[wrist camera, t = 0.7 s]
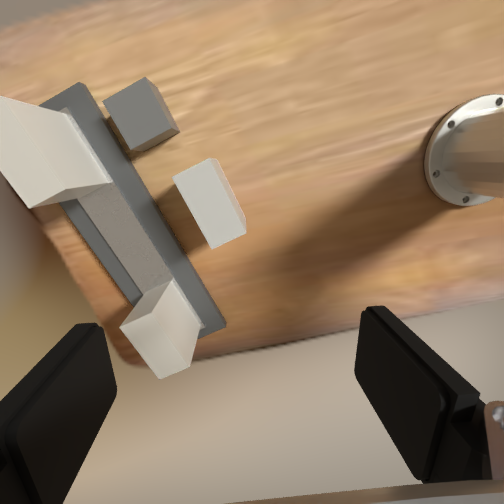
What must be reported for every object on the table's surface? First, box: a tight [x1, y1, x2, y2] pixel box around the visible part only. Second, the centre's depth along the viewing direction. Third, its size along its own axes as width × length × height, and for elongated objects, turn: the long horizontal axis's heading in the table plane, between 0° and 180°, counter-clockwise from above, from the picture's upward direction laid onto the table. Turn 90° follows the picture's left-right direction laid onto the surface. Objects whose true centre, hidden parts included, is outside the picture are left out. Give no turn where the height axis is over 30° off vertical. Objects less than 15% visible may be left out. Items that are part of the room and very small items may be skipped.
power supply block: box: [102, 77, 180, 151], centre depth 29 cm, size 5×5×4 cm
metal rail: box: [58, 107, 206, 329], centre depth 33 cm, size 5×31×1 cm, turn 25°
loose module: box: [172, 158, 246, 249], centre depth 30 cm, size 4×8×8 cm, turn 25°
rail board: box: [39, 82, 226, 339], centre depth 34 cm, size 10×34×1 cm, turn 25°
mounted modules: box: [0, 96, 200, 380], centre depth 29 cm, size 4×30×8 cm, turn 25°
